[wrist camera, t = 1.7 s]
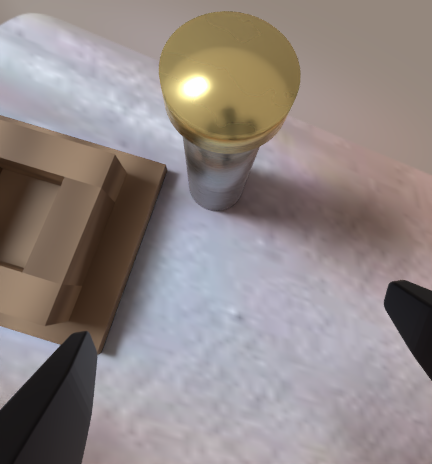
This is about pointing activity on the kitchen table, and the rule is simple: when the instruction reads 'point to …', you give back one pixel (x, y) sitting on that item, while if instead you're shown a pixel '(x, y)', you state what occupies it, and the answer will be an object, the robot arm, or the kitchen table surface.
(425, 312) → the robot arm
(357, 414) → the kitchen table surface
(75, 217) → the block
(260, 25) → the pin
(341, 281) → the kitchen table surface
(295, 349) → the kitchen table surface
